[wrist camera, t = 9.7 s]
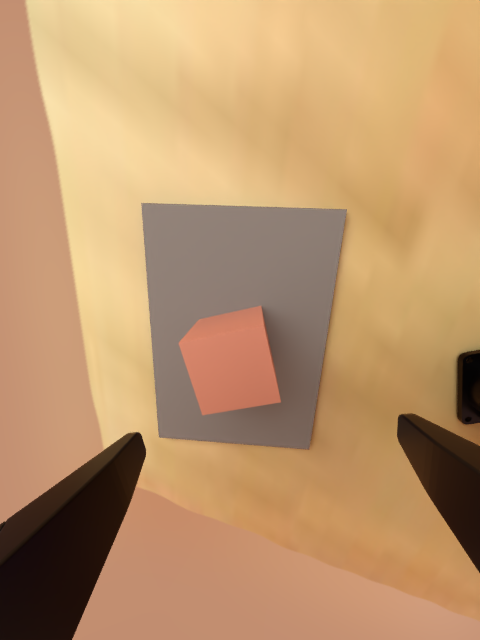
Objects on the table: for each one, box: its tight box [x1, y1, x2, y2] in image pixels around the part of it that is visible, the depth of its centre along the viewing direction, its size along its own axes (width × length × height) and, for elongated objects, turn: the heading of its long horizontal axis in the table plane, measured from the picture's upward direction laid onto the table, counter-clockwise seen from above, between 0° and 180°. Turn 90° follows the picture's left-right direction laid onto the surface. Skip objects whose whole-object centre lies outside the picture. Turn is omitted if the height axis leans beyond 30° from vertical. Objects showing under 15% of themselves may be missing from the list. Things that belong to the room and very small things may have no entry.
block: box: [179, 306, 281, 415], centre depth 16 cm, size 5×5×5 cm
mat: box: [141, 203, 347, 449], centre depth 18 cm, size 20×14×1 cm
